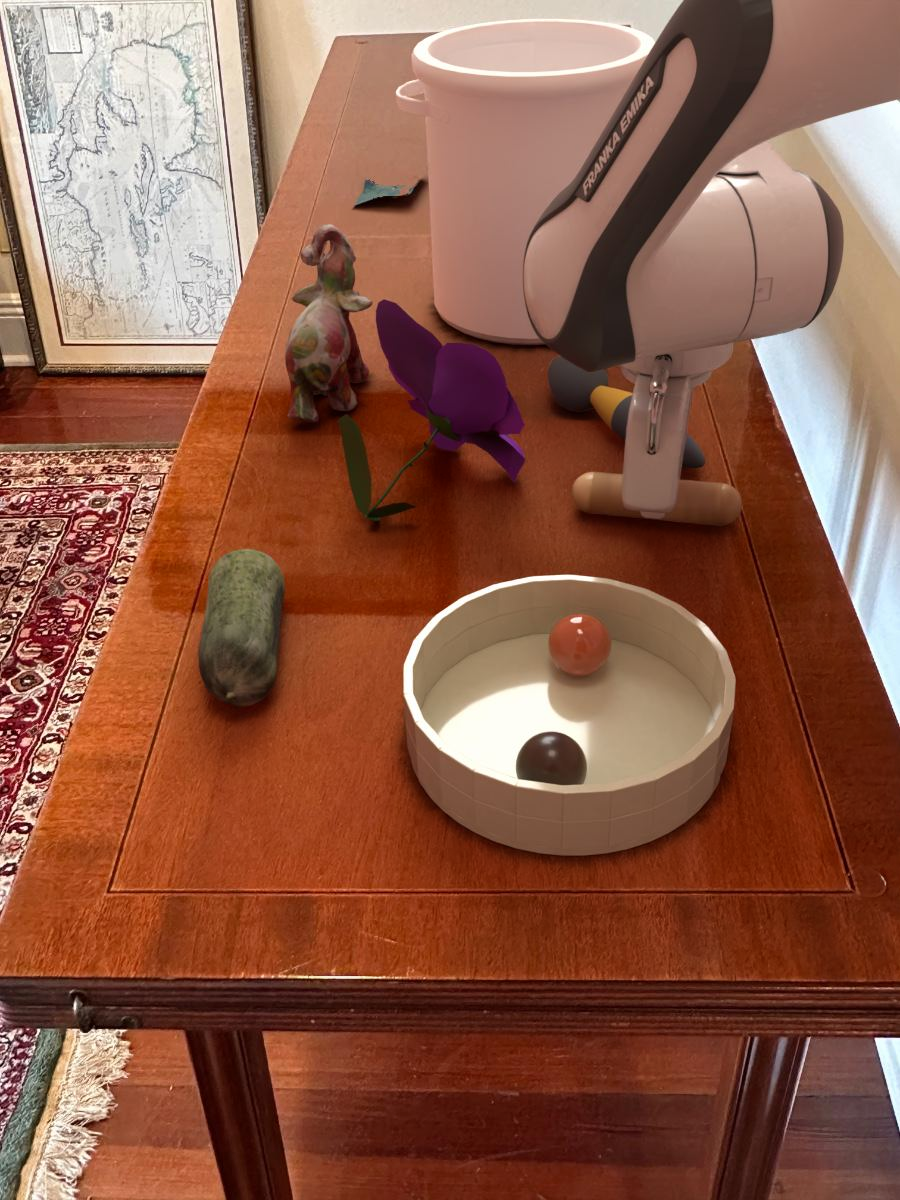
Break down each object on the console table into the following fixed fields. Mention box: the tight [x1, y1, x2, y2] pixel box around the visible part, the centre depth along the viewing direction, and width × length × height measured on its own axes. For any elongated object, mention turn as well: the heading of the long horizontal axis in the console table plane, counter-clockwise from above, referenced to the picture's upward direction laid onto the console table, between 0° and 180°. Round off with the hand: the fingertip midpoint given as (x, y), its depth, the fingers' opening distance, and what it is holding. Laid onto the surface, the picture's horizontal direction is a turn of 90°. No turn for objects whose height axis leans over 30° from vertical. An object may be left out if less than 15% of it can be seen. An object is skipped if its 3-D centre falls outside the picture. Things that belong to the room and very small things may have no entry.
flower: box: [336, 298, 526, 522], centre depth 92 cm, size 15×15×14 cm
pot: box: [395, 18, 656, 346], centre depth 115 cm, size 26×22×25 cm
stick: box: [571, 471, 743, 527], centre depth 90 cm, size 13×3×3 cm, turn 77°
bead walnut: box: [516, 731, 587, 785], centre depth 67 cm, size 4×4×4 cm
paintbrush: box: [547, 355, 706, 469], centre depth 101 cm, size 20×5×5 cm, turn 40°
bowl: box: [402, 574, 737, 857], centre depth 71 cm, size 19×19×5 cm
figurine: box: [284, 223, 374, 423], centre depth 104 cm, size 8×12×15 cm, turn 146°
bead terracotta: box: [548, 613, 612, 676], centre depth 75 cm, size 4×4×4 cm
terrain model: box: [352, 179, 419, 206], centre depth 152 cm, size 13×8×2 cm, turn 170°
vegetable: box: [197, 548, 286, 708], centre depth 78 cm, size 14×5×5 cm, turn 4°
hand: (656, 497), depth 90 cm, fingers closed on stick, 3 cm apart
